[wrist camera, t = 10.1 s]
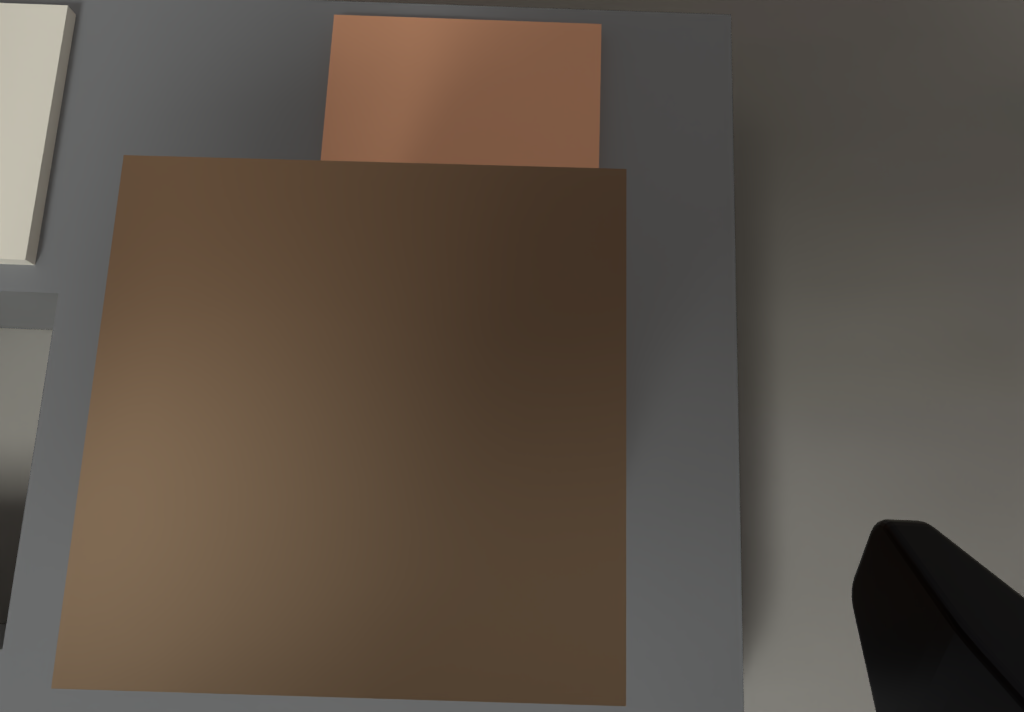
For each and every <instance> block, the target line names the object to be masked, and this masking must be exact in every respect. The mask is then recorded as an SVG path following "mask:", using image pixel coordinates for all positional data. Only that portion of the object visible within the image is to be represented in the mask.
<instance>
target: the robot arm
mask: <svg viewBox="0 0 1024 712" xmlns="http://www.w3.org/2000/svg"><path fill="white" fill-rule="evenodd" d="M852 604H853V610H854V614H855V619H856V623H857V628H858V632H859V637H860V641H861V646H862V650H863V655H864V659H865V664H866V668H867V673H868V677H869V682H870V686H871V691H872V695H873V700H874V704H875V709H876V712H1024V597H1022V596H1021V595H1020V594H1019V593H1017V592H1016V591H1015V590H1013V589H1012V588H1011V587H1010V586H1008V585H1007V584H1006V583H1004V582H1003V581H1002V580H1001V579H999V578H998V577H997V576H995V575H994V574H993V573H992V572H990V571H989V570H988V569H987V568H985V567H984V566H983V565H981V564H980V563H979V562H978V561H976V560H975V559H974V558H972V557H971V556H970V555H969V554H967V553H966V552H965V551H963V550H962V549H961V548H960V547H958V546H957V545H956V544H954V543H953V542H952V541H951V540H949V539H948V538H947V537H945V536H944V535H943V534H942V533H940V532H939V531H938V530H937V529H935V528H934V527H932V526H931V525H929V524H927V523H925V522H922V521H912V520H888V519H887V520H882V521H879V522H878V523H877V524H876V525H875V526H874V527H873V529H872V531H871V533H870V536H869V539H868V542H867V544H866V547H865V550H864V553H863V555H862V558H861V561H860V564H859V566H858V569H857V572H856V575H855V577H854V581H853V586H852Z"/></svg>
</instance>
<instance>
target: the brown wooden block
mask: <svg viewBox="0 0 1024 712" xmlns="http://www.w3.org/2000/svg"><path fill="white" fill-rule="evenodd" d="M626 182H627V169H611V168H575V167H539V166H503V165H466V164H430V163H394V162H358V161H321V160H285V159H249V158H213V157H176V156H140V155H124V156H123V164H122V171H121V178H120V186H119V193H118V201H117V208H116V215H115V223H114V230H113V237H112V245H111V252H110V259H109V267H108V274H107V281H106V289H105V296H104V303H103V311H102V318H101V325H100V333H99V340H98V347H97V355H96V362H95V369H94V377H93V384H92V392H91V399H90V406H89V414H88V421H87V428H86V436H85V443H84V450H83V458H82V465H81V472H80V480H79V487H78V494H77V502H76V509H75V516H74V524H73V531H72V538H71V546H70V553H69V560H68V568H67V575H66V583H65V590H64V597H63V605H62V612H61V619H60V627H59V634H58V641H57V649H56V656H55V663H54V671H53V678H52V685H51V689H82V690H114V691H147V692H179V693H212V694H244V695H276V696H309V697H341V698H373V699H406V700H438V701H470V702H503V703H535V704H568V705H600V706H626Z"/></svg>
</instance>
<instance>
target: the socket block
mask: <svg viewBox="0 0 1024 712" xmlns="http://www.w3.org/2000/svg"><path fill="white" fill-rule="evenodd" d="M124 155H140V156H176V157H213V158H249V159H285V160H321V161H358V162H394V163H430V164H466V165H503V166H539V167H575V168H611V169H627V182H626V706H600V705H568V704H535V703H503V702H470V701H438V700H406V699H373V698H341V697H309V696H276V695H244V694H212V693H179V692H147V691H114V690H82V689H51V685H52V678H53V671H54V663H55V656H56V649H57V641H58V634H59V627H60V619H61V612H62V605H63V597H64V590H65V583H66V575H67V568H68V560H69V553H70V546H71V538H72V531H73V524H74V516H75V509H76V502H77V494H78V487H79V480H80V472H81V465H82V458H83V450H84V443H85V436H86V428H87V421H88V414H89V406H90V399H91V392H92V384H93V377H94V369H95V362H96V355H97V347H98V340H99V333H100V325H101V318H102V311H103V303H104V296H105V289H106V281H107V274H108V267H109V259H110V252H111V245H112V237H113V230H114V223H115V215H116V208H117V201H118V193H119V186H120V178H121V171H122V164H123V156H124ZM0 328H21V329H48V330H53V332H52V338H51V344H50V351H49V357H48V363H47V370H46V376H45V383H44V389H43V395H42V402H41V408H40V414H39V421H38V427H37V433H36V440H35V446H34V452H33V459H32V465H31V471H30V478H29V484H28V491H27V497H26V503H25V510H24V516H23V522H22V529H21V535H20V541H19V548H18V554H17V560H16V567H15V573H14V579H13V586H12V592H11V599H10V605H9V611H8V618H7V624H0V712H744V692H743V638H742V584H741V529H740V475H739V421H738V367H737V312H736V258H735V204H734V150H733V95H732V41H731V15H729V14H701V13H672V12H643V11H615V10H586V9H557V8H528V7H500V6H471V5H442V4H414V3H385V2H356V1H327V0H0Z"/></svg>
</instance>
